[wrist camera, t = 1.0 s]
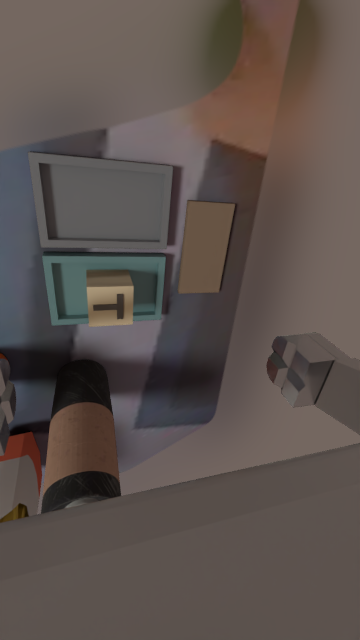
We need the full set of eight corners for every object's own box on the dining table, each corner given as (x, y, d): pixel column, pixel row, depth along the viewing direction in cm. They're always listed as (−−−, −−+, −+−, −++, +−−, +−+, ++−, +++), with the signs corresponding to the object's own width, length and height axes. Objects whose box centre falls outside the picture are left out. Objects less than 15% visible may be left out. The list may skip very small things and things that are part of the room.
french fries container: (30, 419, 46) (5, 554, 31) (46, 461, 51) (31, 591, 37) (-3, 426, 45) (-44, 568, 30) (17, 467, 50) (-10, 604, 36)
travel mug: (71, 350, 41) (64, 490, 25) (118, 368, 45) (138, 499, 29) (45, 387, 43) (23, 539, 27) (92, 401, 47) (97, 542, 31)
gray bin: (30, 151, 29) (27, 152, 27) (169, 165, 33) (173, 166, 31) (42, 243, 33) (41, 247, 32) (163, 245, 37) (166, 249, 36)
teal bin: (43, 251, 34) (42, 256, 32) (163, 253, 38) (165, 256, 36) (53, 319, 38) (52, 325, 37) (158, 314, 42) (160, 319, 41)
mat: (187, 200, 35) (189, 201, 35) (233, 203, 37) (235, 204, 36) (177, 291, 41) (178, 293, 41) (217, 290, 43) (218, 292, 42)
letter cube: (86, 269, 36) (86, 287, 31) (127, 269, 37) (133, 286, 33) (88, 306, 38) (89, 327, 34) (127, 304, 39) (132, 324, 35)
